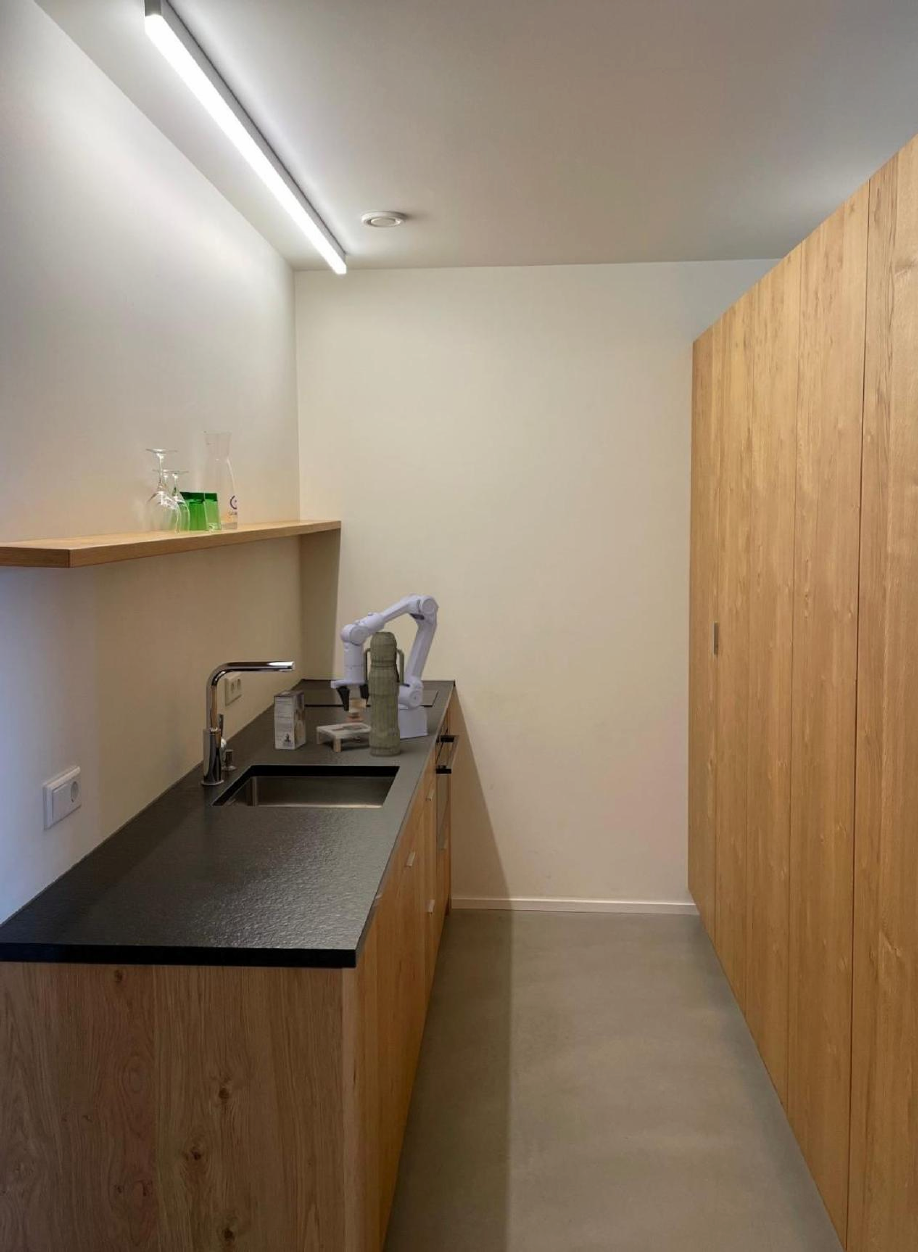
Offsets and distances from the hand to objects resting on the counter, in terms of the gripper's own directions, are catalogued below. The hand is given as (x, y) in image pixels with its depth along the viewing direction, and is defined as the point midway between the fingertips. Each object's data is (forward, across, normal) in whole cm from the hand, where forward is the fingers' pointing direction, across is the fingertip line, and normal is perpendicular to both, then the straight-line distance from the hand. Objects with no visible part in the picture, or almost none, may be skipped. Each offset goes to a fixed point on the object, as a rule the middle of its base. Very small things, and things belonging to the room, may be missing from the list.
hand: (355, 709), depth 288 cm
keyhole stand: (+10, +2, 0) cm, 11 cm away
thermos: (+11, -2, +15) cm, 19 cm away
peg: (+3, 0, 0) cm, 3 cm away
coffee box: (+11, +18, -8) cm, 22 cm away
